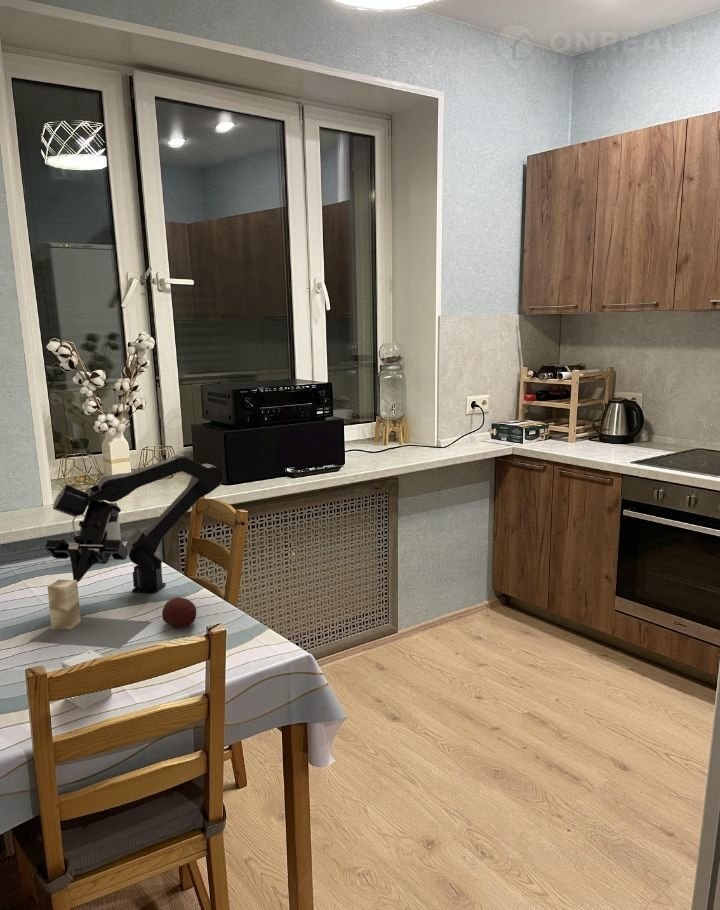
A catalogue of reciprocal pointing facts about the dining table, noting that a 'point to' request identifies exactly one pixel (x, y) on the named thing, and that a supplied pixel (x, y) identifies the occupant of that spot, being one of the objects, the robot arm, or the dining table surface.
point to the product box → (89, 698)
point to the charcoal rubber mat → (94, 633)
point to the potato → (179, 612)
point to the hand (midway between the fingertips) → (75, 581)
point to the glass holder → (109, 527)
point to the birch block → (64, 604)
